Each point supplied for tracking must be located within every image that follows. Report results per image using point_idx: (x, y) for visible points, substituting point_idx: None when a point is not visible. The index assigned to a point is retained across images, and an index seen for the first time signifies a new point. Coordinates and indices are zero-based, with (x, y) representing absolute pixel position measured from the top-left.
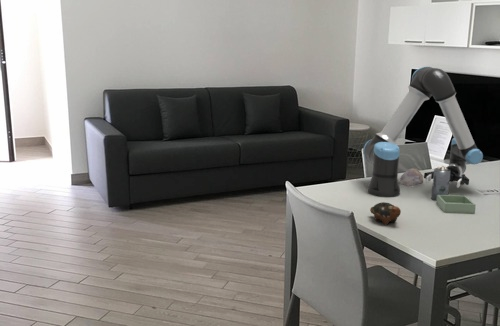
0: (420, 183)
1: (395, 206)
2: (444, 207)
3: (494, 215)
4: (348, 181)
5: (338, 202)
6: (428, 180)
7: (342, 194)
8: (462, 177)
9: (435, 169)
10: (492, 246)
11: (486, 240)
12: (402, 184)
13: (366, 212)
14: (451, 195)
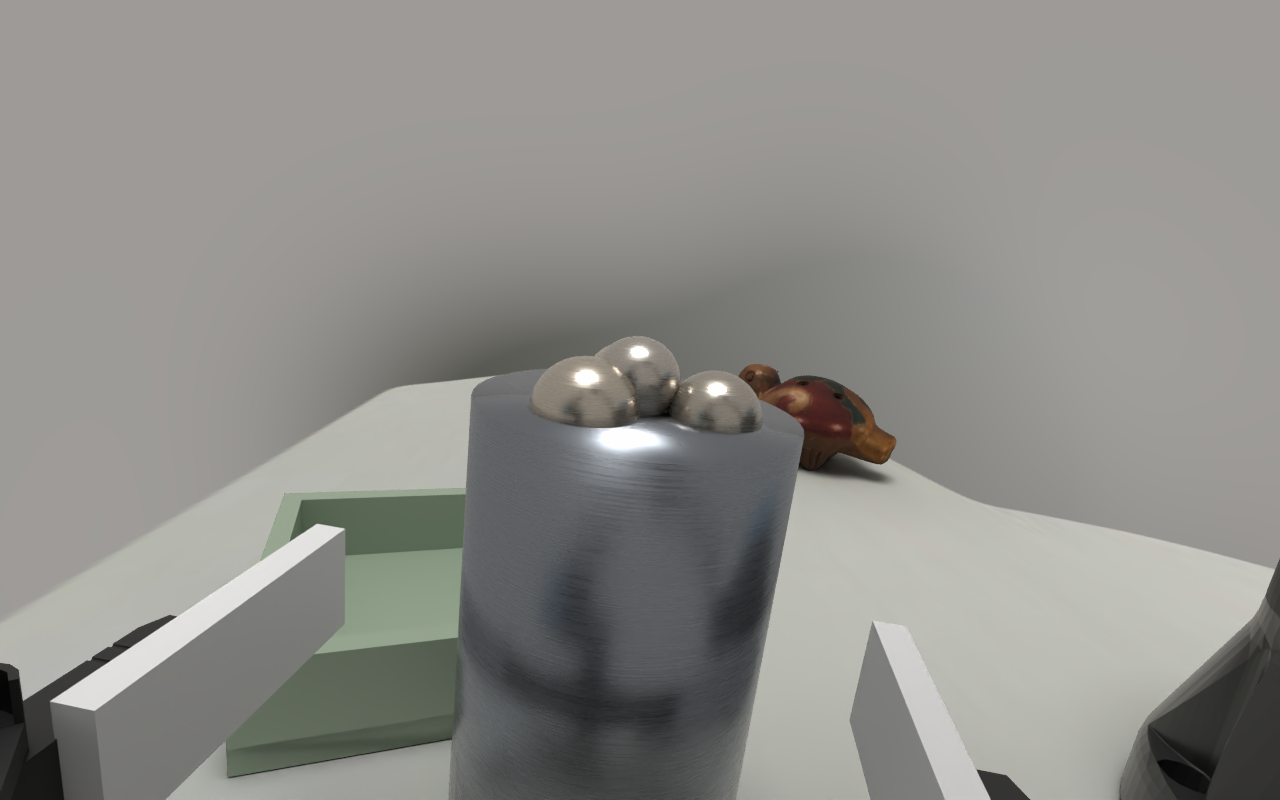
0: None
1: (766, 367)
2: None
3: (102, 567)
4: None
5: (1197, 573)
6: (870, 734)
7: None
8: (17, 681)
9: (764, 408)
10: (403, 386)
11: (405, 401)
12: None
13: (938, 503)
14: (446, 635)
